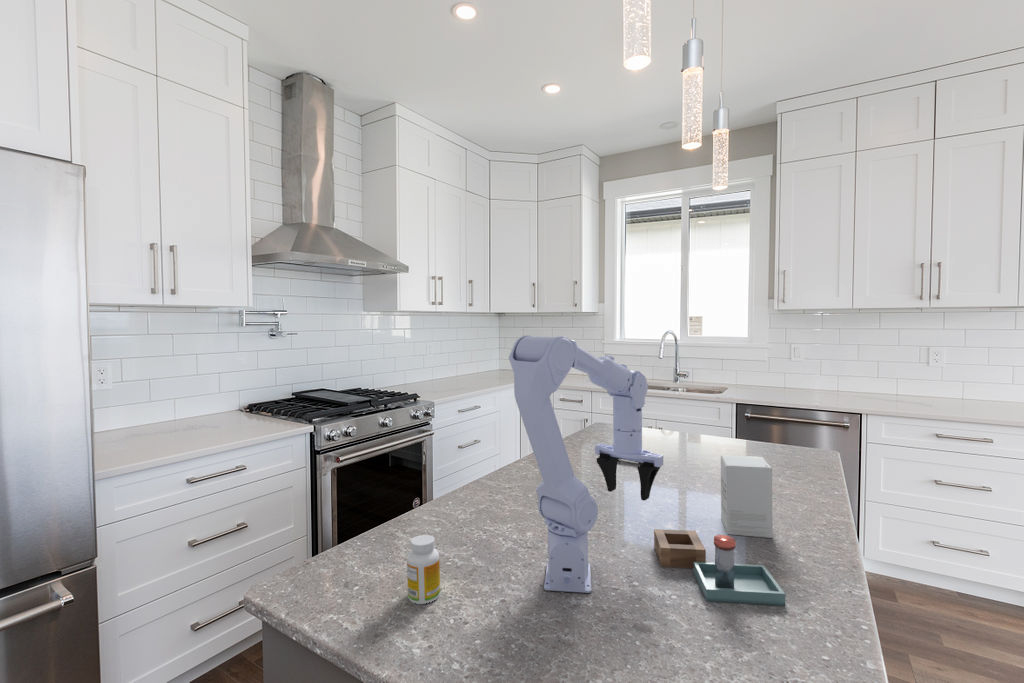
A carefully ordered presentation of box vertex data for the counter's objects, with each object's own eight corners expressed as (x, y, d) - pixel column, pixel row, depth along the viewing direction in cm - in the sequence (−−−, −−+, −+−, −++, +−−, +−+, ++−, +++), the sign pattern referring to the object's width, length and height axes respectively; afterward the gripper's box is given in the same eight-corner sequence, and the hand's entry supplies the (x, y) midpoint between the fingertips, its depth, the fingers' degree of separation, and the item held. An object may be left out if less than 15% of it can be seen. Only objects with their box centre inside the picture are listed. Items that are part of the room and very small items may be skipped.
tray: (785, 606, 77) (785, 593, 77) (706, 601, 78) (706, 589, 78) (763, 576, 86) (763, 565, 86) (693, 572, 87) (693, 561, 87)
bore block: (705, 569, 88) (705, 549, 88) (660, 566, 90) (660, 547, 89) (695, 548, 96) (695, 530, 96) (654, 546, 98) (654, 529, 97)
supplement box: (763, 521, 109) (763, 455, 108) (773, 539, 100) (773, 467, 99) (720, 517, 111) (719, 453, 110) (726, 534, 102) (726, 465, 102)
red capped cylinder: (738, 591, 80) (738, 544, 80) (717, 590, 81) (717, 543, 80) (731, 580, 84) (731, 535, 83) (711, 579, 84) (711, 534, 84)
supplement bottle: (442, 586, 84) (440, 532, 84) (438, 604, 79) (436, 546, 78) (411, 587, 84) (409, 533, 84) (405, 606, 79) (403, 547, 78)
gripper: (670, 430, 96) (670, 497, 97) (607, 420, 106) (607, 481, 107) (653, 436, 91) (654, 507, 92) (589, 426, 101) (589, 490, 101)
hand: (628, 494), depth 99 cm, fingers open, 7 cm apart
